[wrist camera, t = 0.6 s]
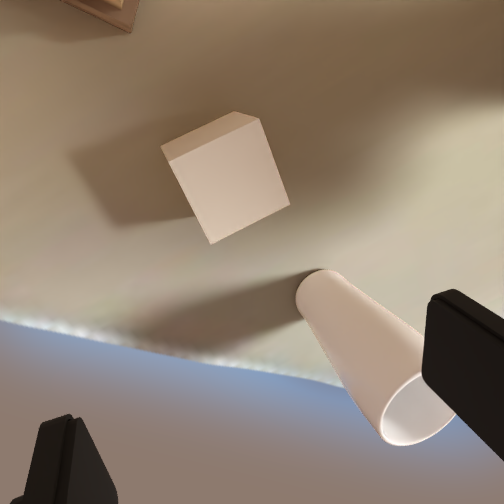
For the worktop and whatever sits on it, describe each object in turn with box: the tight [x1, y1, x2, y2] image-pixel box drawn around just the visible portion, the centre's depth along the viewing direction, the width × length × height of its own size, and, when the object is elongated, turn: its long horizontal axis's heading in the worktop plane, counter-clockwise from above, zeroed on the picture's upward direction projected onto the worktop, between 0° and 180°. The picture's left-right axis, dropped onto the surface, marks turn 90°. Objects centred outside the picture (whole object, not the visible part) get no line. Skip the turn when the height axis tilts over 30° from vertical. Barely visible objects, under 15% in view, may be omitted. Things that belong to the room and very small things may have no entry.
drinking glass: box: [295, 270, 456, 446], centre depth 30 cm, size 7×7×15 cm
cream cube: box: [160, 111, 290, 244], centre depth 26 cm, size 6×6×6 cm
